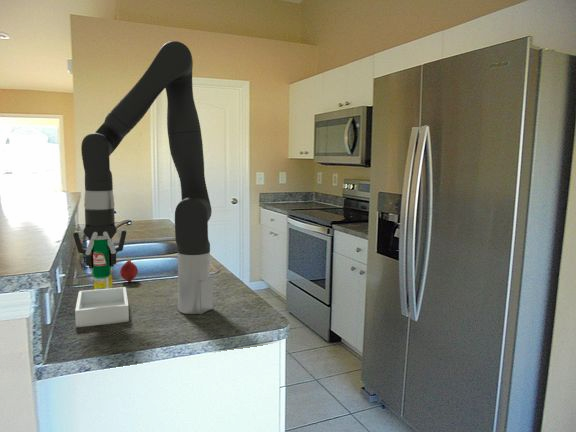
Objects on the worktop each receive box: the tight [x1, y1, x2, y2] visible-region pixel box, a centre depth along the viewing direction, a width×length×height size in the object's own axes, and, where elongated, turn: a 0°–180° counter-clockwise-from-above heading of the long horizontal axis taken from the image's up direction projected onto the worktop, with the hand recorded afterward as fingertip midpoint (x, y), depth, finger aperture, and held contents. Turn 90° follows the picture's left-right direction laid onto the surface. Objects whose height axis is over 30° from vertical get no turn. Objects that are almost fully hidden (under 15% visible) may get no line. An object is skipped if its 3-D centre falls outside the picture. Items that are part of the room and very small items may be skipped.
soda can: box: [91, 235, 112, 279], centre depth 125 cm, size 5×5×12 cm
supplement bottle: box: [93, 268, 114, 290], centre depth 144 cm, size 6×6×10 cm
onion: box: [119, 259, 138, 282], centre depth 158 cm, size 6×6×8 cm
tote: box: [74, 286, 130, 328], centre depth 127 cm, size 13×18×4 cm
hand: (101, 266), depth 125 cm, fingers closed on soda can, 5 cm apart
